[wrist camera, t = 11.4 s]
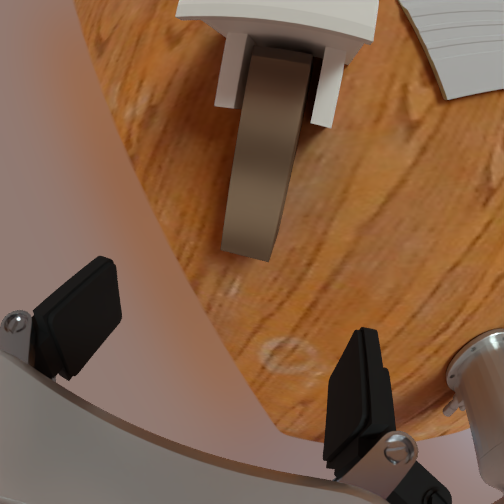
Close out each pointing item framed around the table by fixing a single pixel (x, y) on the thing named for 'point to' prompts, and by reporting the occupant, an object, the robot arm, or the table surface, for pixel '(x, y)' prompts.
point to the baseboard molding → (461, 43)
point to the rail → (265, 149)
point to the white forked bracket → (286, 40)
